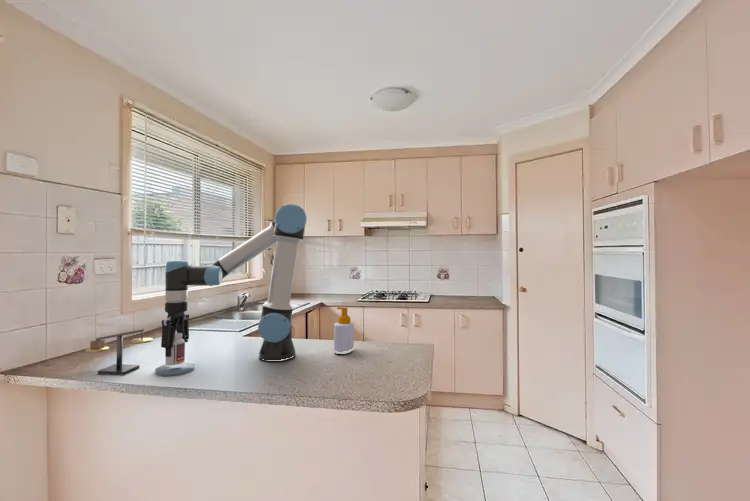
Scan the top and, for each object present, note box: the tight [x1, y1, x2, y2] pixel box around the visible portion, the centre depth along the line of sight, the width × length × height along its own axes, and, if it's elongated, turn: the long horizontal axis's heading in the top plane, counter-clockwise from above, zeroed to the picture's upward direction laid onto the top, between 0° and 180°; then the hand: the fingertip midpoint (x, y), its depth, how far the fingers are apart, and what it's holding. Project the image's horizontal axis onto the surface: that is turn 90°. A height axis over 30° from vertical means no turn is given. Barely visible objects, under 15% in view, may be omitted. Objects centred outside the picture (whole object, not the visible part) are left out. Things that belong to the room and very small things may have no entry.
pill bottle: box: [172, 332, 186, 365], centre depth 140 cm, size 6×6×11 cm
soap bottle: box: [333, 306, 355, 352], centre depth 170 cm, size 13×8×20 cm, turn 162°
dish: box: [155, 361, 195, 377], centre depth 140 cm, size 13×13×1 cm
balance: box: [85, 328, 154, 376], centre depth 138 cm, size 25×8×16 cm, turn 86°
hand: (175, 362), depth 140 cm, fingers closed on pill bottle, 6 cm apart
